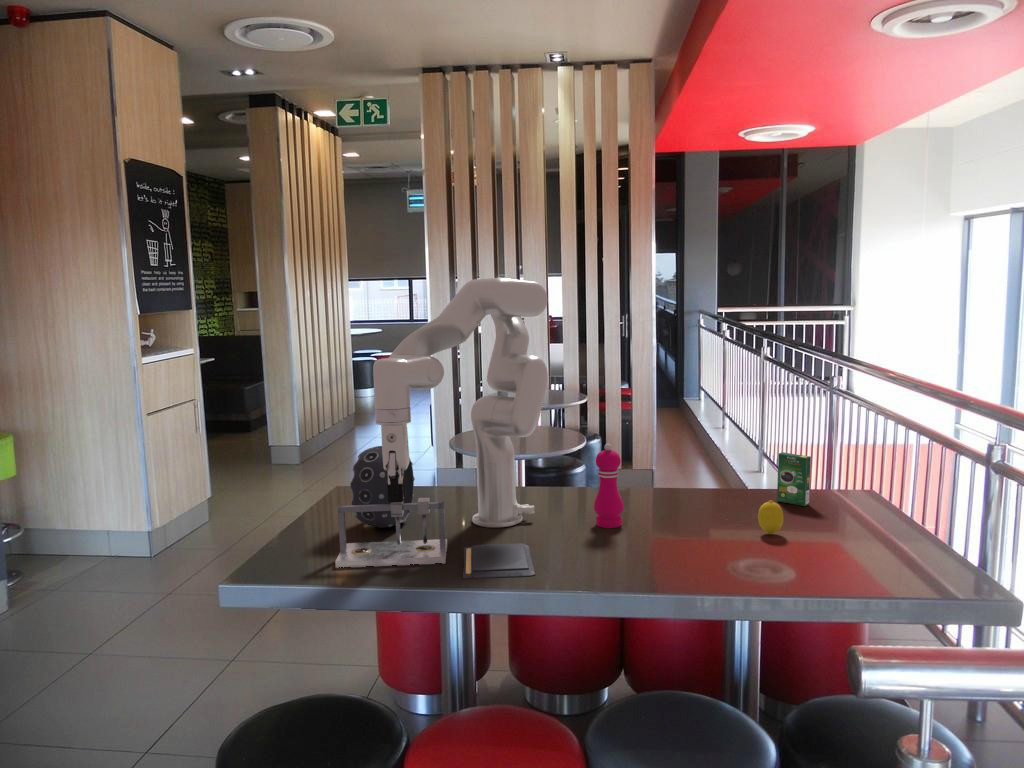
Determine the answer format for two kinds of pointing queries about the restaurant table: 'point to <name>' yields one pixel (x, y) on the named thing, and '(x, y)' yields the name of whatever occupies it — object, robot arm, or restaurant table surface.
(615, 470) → the pepper mill
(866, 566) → the restaurant table surface
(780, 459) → the coffee box
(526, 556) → the dark grey flat slab
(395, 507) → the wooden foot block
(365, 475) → the ring
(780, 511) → the lemon
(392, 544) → the switch panel
